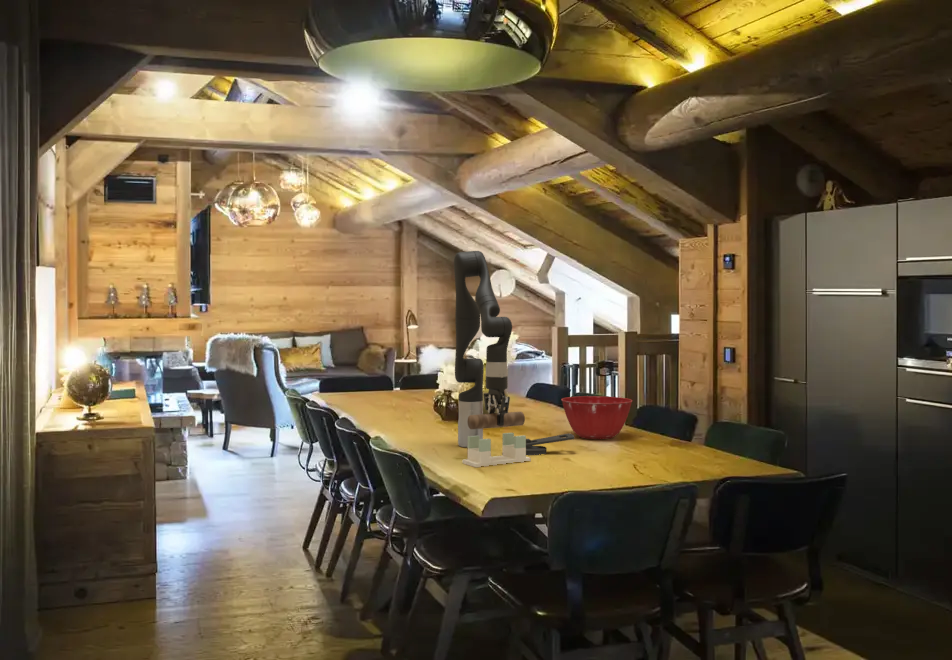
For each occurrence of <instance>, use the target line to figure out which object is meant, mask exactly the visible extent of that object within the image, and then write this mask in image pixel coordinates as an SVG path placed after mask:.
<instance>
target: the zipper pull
mask: <svg viewBox="0 0 952 660" xmlns="http://www.w3.org/2000/svg"><path fill="white" fill-rule="evenodd" d="M570 440H575V435H574V434H572V433H564V434H558V435H553V436H548V437H541V438H536V439H530V438H526V455H528V456H542V455H541V454H545V455H547V453H548V452H547V447H546V446H544V444H545V445H546V444H551V443H558V442H563V441H564V442H565V441H570ZM539 454H540V455H539Z"/></svg>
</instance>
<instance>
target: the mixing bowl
mask: <svg viewBox="0 0 952 660" xmlns="http://www.w3.org/2000/svg"><path fill="white" fill-rule="evenodd" d="M632 402H633V400H632V399H631V398H626V397H618V396H604V395H603V396H602V395H601V396H599V395H597V396H596V395H591V396H590V395H589V396H587V395H585V396H584V395H581V396H569V397H562V398H561V403H562V408H563V410H564V412H565V413H564V414H565V416H566V419H567V422H568V423H569V425H570V428H571V430H572V431H573V432H574V434H575V435H577V436H579V438H581V439H585V440H586V439H588V440H610V439H613V438H614V437H616V436H617V435H618V434H619V433H620V432H621V431H622V429H623V428H624V426H625V423H626V421H627V418H628V416H629V413H630V410H631V406H632Z"/></svg>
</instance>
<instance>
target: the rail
mask: <svg viewBox="0 0 952 660" xmlns="http://www.w3.org/2000/svg"><path fill="white" fill-rule="evenodd" d="M497 415H498V414H497V412H494V414H489V413H485V414H484V413H483V414H480V415H470V416H469V417H468V427H469V428H470V429H483V430H484V429H491V428H492V429H494V428H504V427H505V428H506V427H517V426H518V427H519V426H524V425H525V421H526V418H525V414H524V412H523V411H511V412H509V411H508V413H505V414H504V425H503V426H498V425H497Z"/></svg>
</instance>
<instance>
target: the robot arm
mask: <svg viewBox="0 0 952 660" xmlns="http://www.w3.org/2000/svg"><path fill="white" fill-rule="evenodd" d="M486 259H487V258H486V257H485V255H484V253H483V252H482V251H480V250H471V251H470V250H468V251H460V252H456V254H455V255H454V259H453V270H454V271H453V272H454V285H455V317H454V318H455V323H454V324H455V355H454V356H455V357H454V358H455V359H454V378H455V381H456V382H457V383H461V384H465V383H467V384H468V383H469V384H470V383H471V384H472V383H473V384H474V385H473V386H472V387H471V388H469V389H467V390H463V391H462V392H459V393H458V421H457V439H458V440H457V445H458V447H462V448H468V436H479V439H484V428H483V429H470V428H469V427H468V417H469V416H470V415H480V414H484V410H485V411H487V414H494V413H497V414H498V415H497V425H498V426H503V425H504V414H505V413H508V412H509V406H510V401H511V397H510V396H508V395H506V392H505V390H506V389H508V381H509V380H508V373H509V372H508V371H509V370H508V347H509V342H510V338H511V335H512V331H513V323H512V321H511V319H510V318H509V317H508V316H498V315H500V313H501V307H500V305H499V302H498V300H497V298H496V294H495V293H494V290H493V285H492V281H491V276H490V273H489V268H488V263H487V260H486ZM470 277H479V280H480V281H479V284H478V285H477V289H476V291H475V295H474V297H473V296H472V294H471V292H470V291H469V289H468V287H467V283H466V278H470ZM479 330H481V332H482V335H483V336H485V337H486V338H498V340H497V341H496V343H493V344H489V345H487V346H486V355H485V356H486V358H485V359H486V360H485V361H486V364H485V366H484V361H483V359H482V358H474V357H473V358H470V357H469V358H465V357H464V356H465V354H466V351H467V349H468V347H469V345H470V343H471V342H472V341H473V340H474V338H475V337H476V336H477V333H478V332H479ZM484 367H485V370H484ZM484 372H485V389H486V390H488V392H486V393H484V390H483V388H484V386H483V385H484Z"/></svg>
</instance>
